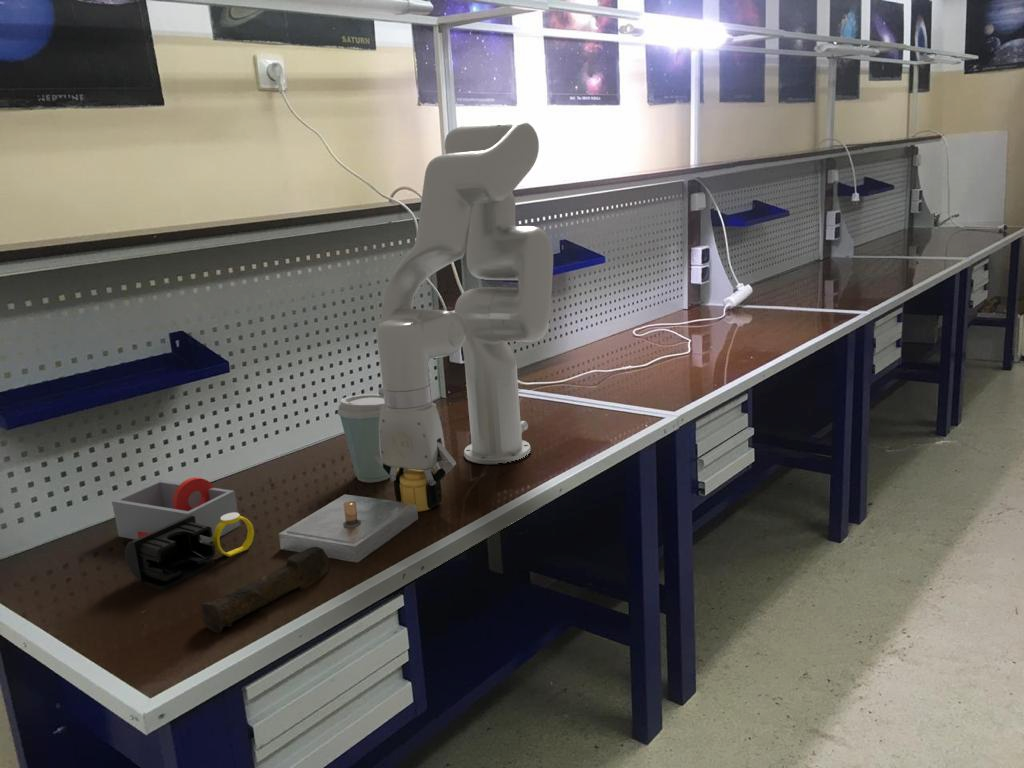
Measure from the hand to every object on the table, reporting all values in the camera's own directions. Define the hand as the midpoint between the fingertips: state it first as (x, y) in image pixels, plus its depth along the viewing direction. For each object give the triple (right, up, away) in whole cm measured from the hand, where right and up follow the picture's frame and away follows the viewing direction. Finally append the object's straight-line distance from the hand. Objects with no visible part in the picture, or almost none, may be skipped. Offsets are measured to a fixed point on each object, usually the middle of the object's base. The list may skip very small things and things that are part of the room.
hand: (418, 502), depth 142 cm
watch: (-26, -6, -13) cm, 29 cm away
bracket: (-38, -4, -4) cm, 38 cm away
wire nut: (0, 0, 0) cm, 0 cm away
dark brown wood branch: (-16, -9, -28) cm, 33 cm away
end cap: (-33, -8, -18) cm, 38 cm away
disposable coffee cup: (-9, +2, +15) cm, 18 cm away
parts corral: (-38, -4, -4) cm, 38 cm away
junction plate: (-9, -4, -9) cm, 14 cm away
